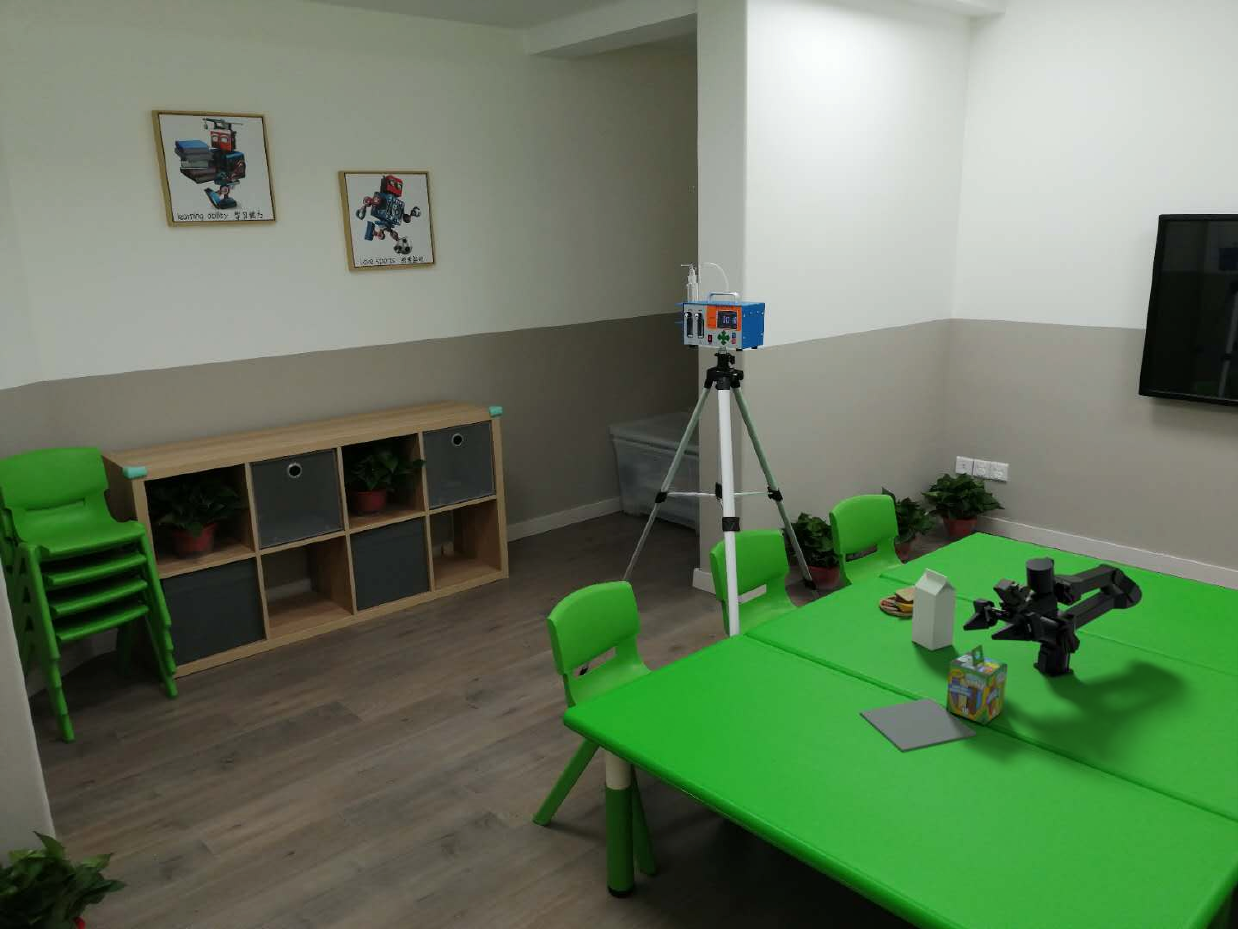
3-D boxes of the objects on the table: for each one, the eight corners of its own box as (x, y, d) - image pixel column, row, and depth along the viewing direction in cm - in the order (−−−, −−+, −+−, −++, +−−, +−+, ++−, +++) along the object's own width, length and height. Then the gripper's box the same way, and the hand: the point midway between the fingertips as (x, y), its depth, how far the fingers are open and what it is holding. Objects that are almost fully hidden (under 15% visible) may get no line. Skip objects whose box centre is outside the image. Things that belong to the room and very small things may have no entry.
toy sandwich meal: (871, 602, 264) (872, 586, 263) (916, 597, 266) (917, 582, 265) (891, 620, 252) (892, 603, 251) (937, 615, 254) (939, 599, 253)
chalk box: (984, 726, 198) (991, 661, 195) (944, 710, 205) (950, 647, 201) (1004, 712, 205) (1011, 649, 201) (964, 697, 211) (971, 636, 208)
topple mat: (930, 699, 211) (930, 697, 210) (976, 735, 196) (976, 733, 196) (859, 713, 205) (859, 711, 205) (902, 751, 191) (902, 749, 191)
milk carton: (931, 651, 233) (936, 580, 228) (910, 640, 239) (915, 571, 234) (952, 645, 236) (957, 574, 231) (931, 634, 242) (936, 565, 237)
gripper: (994, 568, 221) (941, 592, 217) (1054, 581, 204) (998, 608, 199) (1005, 611, 223) (953, 636, 218) (1066, 628, 205) (1010, 655, 201)
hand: (977, 633), depth 209 cm, fingers open, 9 cm apart
